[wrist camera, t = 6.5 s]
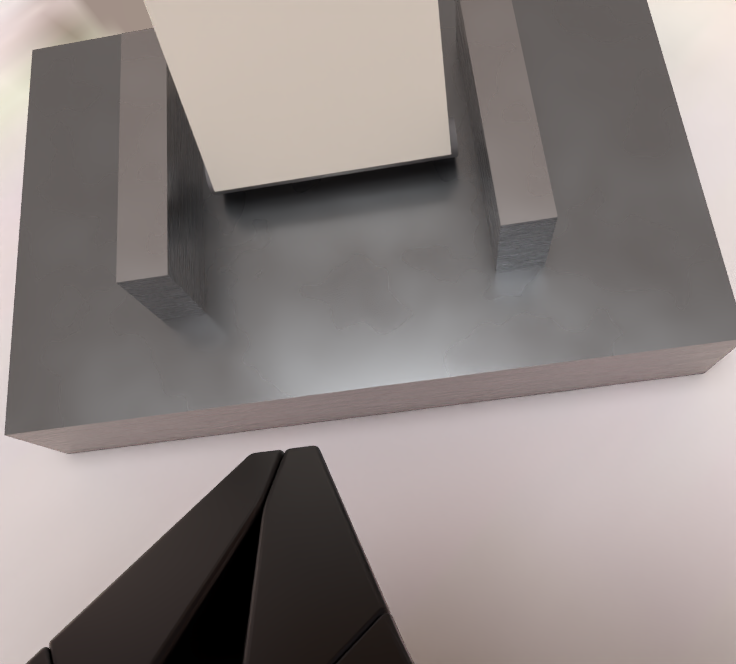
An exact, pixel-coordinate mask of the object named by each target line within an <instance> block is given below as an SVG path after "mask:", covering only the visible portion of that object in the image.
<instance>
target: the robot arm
mask: <svg viewBox="0 0 736 664" xmlns="http://www.w3.org/2000/svg"><path fill="white" fill-rule="evenodd" d="M49 648H50V649H49ZM49 648H48V647H44V648H42V649H41V650H40V651H39V652H38V653H37V654H36V655H35V656H34V657H33V658H31V659H30V660H29V661H28V662H27V663H26V664H414V662H413V660H412V658H411V656H410V654H409V652H408V650H407V648H406V646H405V644H404V642H403V640H402V637H401V635H400V633H399V630H398V628H397V626H396V623H395V621H394V619H393V617H392V615H391V614H390V611H389V608H388V606H387V603H386V601H385V599H384V596H383V594H382V592H381V590H380V587H379V585H378V583H377V580H376V578H375V576H374V573H373V571H372V569H371V567H370V564H369V562H368V560H367V557H366V555H365V553H364V550H363V548H362V546H361V543H360V541H359V539H358V537H357V534H356V532H355V530H354V527H353V525H352V523H351V520H350V518H349V516H348V513H347V511H346V509H345V507H344V504H343V502H342V500H341V497H340V495H339V493H338V490H337V488H336V486H335V484H334V481H333V479H332V477H331V474H330V472H329V470H328V467H327V465H326V463H325V460H324V458H323V456H322V454H321V451H320V449H319V448H318V447H317V446H307V447H300V448H292V449H288V450H286V451H285V453H284V452H283V451H281V450H275V451H267V452H259V453H253V454H251V455H249V456H248V457H247V458H246V459H245V460H244V461H243V462H242V463H240V464H239V465H238V466H237V467H236V468H235V469H234V470H233V471H232V472H231V473H230V474H229V475H228V476H227V477H225V478H224V479H223V480H222V481H221V482H220V483H219V484H218V485H217V486H216V487H215V488H214V489H213V490H212V491H210V492H209V493H208V494H207V495H206V496H205V497H204V498H203V499H202V500H201V501H200V502H199V503H198V504H197V505H196V506H194V507H193V508H192V509H191V510H190V511H189V512H188V513H187V514H186V515H185V516H184V517H183V518H182V519H181V520H179V521H178V522H177V523H176V524H175V525H174V526H173V527H172V528H171V529H170V530H169V531H168V532H167V533H166V534H164V535H163V536H162V537H161V538H160V539H159V540H158V541H157V542H156V543H155V544H154V545H153V546H152V547H151V548H150V549H148V550H147V551H146V552H145V553H144V554H143V555H142V556H141V557H140V558H139V559H138V560H137V561H136V562H135V563H133V564H132V565H131V566H130V567H129V568H128V569H127V570H126V571H125V572H124V573H123V574H122V575H121V576H120V577H118V578H117V579H116V580H115V581H114V582H113V583H112V584H111V585H110V586H109V587H108V588H107V589H106V590H105V591H103V592H102V593H101V594H100V595H99V596H98V597H97V598H96V599H95V600H94V601H93V602H92V603H91V604H90V605H89V606H87V607H86V608H85V609H84V610H83V611H82V612H81V613H80V614H79V615H78V616H77V617H76V618H75V619H73V620H72V621H71V622H70V623H69V624H68V625H67V626H66V627H65V628H64V629H63V630H62V631H61V632H60V633H58V634H57V635H56V636H55V637H54V638H53V639H52V640H51V641H50V643H49Z"/></svg>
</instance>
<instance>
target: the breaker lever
mask: <svg viewBox="0 0 736 664" xmlns="http://www.w3.org/2000/svg"><path fill="white" fill-rule="evenodd" d="M144 3H145V6H146V8H147V11H148V13H149V16H150V19H151V22H152V24H153V27H154V30H155V32H156V35H157V38H158V41H159V43H160V46H161V49H162V51H163V54H164V57H165V59H166V62H167V65H168V67H169V70H170V73H171V76H172V78H173V81H174V84H175V86H176V89H177V92H178V94H179V97H180V100H181V102H182V105H183V108H184V110H185V113H186V116H187V119H188V121H189V124H190V127H191V129H192V132H193V135H194V137H195V140H196V143H197V145H198V148H199V151H200V154H201V156H202V159H203V162H204V167H205V175H206V180H207V183H208V186H209V189H210V191H211V192H212V194H213V195H219V194H225V193H231V192H238V191H244V190H250V189H256V188H263V187H269V186H275V185H282V184H288V183H294V182H301V181H307V180H313V179H320V178H326V177H332V176H339V175H345V174H351V173H358V172H364V171H370V170H377V169H383V168H389V167H396V166H402V165H408V164H415V163H421V162H427V161H434V160H440V159H446V158H453V157H458V142H457V134H456V127H455V121H454V117H453V116H451V117H448V111H447V100H446V88H445V77H444V65H443V54H442V42H441V31H440V19H439V8H438V0H144Z"/></svg>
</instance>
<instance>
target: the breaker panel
mask: <svg viewBox="0 0 736 664" xmlns="http://www.w3.org/2000/svg"><path fill="white" fill-rule="evenodd" d="M438 8H439V19H440V31H441V42H442V54H443V65H444V77H445V88H446V100H447V111H448V117H451V116H453V117H454V121H455V127H456V134H457V142H458V157H453V158H446V159H440V160H434V161H427V162H421V163H415V164H408V165H402V166H396V167H389V168H383V169H377V170H370V171H364V172H358V173H351V174H345V175H339V176H332V177H326V178H320V179H313V180H307V181H301V182H294V183H288V184H282V185H275V186H269V187H263V188H256V189H250V190H244V191H238V192H231V193H225V194H219V195H213V194H212V192H211V191H210V189H209V186H208V183H207V180H206V175H205V167H204V162H203V159H202V156H201V154H200V151H199V148H198V145H197V143H196V140H195V137H194V135H193V132H192V129H191V127H190V124H189V121H188V119H187V116H186V113H185V110H184V108H183V105H182V102H181V100H180V97H179V94H178V92H177V89H176V86H175V84H174V81H173V78H172V76H171V73H170V70H169V67H168V65H167V62H166V59H165V57H164V54H163V51H162V49H161V46H160V43H159V41H158V38H157V35H156V32H155V30H154V28H150V29H144V30H139V31H133V32H128V33H122V34H119V35H113V36H108V37H102V38H97V39H91V40H86V41H80V42H75V43H69V44H64V45H58V46H53V47H47V48H42V49H36V50H33V52H32V66H31V80H30V93H29V107H28V121H27V134H26V148H25V162H24V175H23V189H22V203H21V217H20V230H19V244H18V258H17V271H16V285H15V299H14V313H13V326H12V340H11V354H10V367H9V381H8V395H7V408H6V422H5V435H6V436H9V437H13V438H16V439H19V440H23V441H26V442H30V443H33V444H36V445H40V446H43V447H47V448H50V449H53V450H57V451H60V452H64V453H67V454H69V453H77V452H85V451H93V450H101V449H109V448H117V447H125V446H133V445H140V444H148V443H156V442H164V441H172V440H180V439H188V438H196V437H204V436H211V435H219V434H227V433H235V432H243V431H251V430H259V429H267V428H275V427H283V426H290V425H298V424H306V423H314V422H322V421H330V420H338V419H346V418H354V417H361V416H369V415H377V414H385V413H393V412H401V411H409V410H417V409H425V408H432V407H440V406H448V405H456V404H464V403H472V402H480V401H488V400H496V399H503V398H511V397H519V396H527V395H535V394H543V393H551V392H559V391H567V390H574V389H582V388H590V387H598V386H606V385H614V384H622V383H630V382H638V381H645V380H653V379H661V378H669V377H677V376H685V375H693V374H701V373H705V372H706V371H707V370H708V369H710V368H711V367H712V366H713V365H715V364H716V363H717V362H718V361H719V360H721V359H722V358H723V357H724V356H726V355H727V354H728V353H729V352H730V351H732V350H733V349H734V348H735V347H736V302H735V299H734V295H733V292H732V289H731V285H730V282H729V278H728V275H727V272H726V268H725V265H724V261H723V258H722V255H721V251H720V248H719V244H718V241H717V238H716V234H715V231H714V227H713V224H712V221H711V217H710V214H709V210H708V207H707V204H706V200H705V197H704V193H703V190H702V187H701V183H700V180H699V176H698V173H697V170H696V166H695V163H694V159H693V156H692V153H691V149H690V146H689V142H688V139H687V136H686V132H685V129H684V125H683V122H682V119H681V115H680V112H679V109H678V105H677V102H676V98H675V95H674V92H673V88H672V85H671V81H670V78H669V75H668V71H667V68H666V64H665V61H664V58H663V54H662V51H661V47H660V44H659V41H658V37H657V34H656V30H655V27H654V24H653V20H652V17H651V13H650V10H649V7H648V3H647V0H438Z"/></svg>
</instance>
